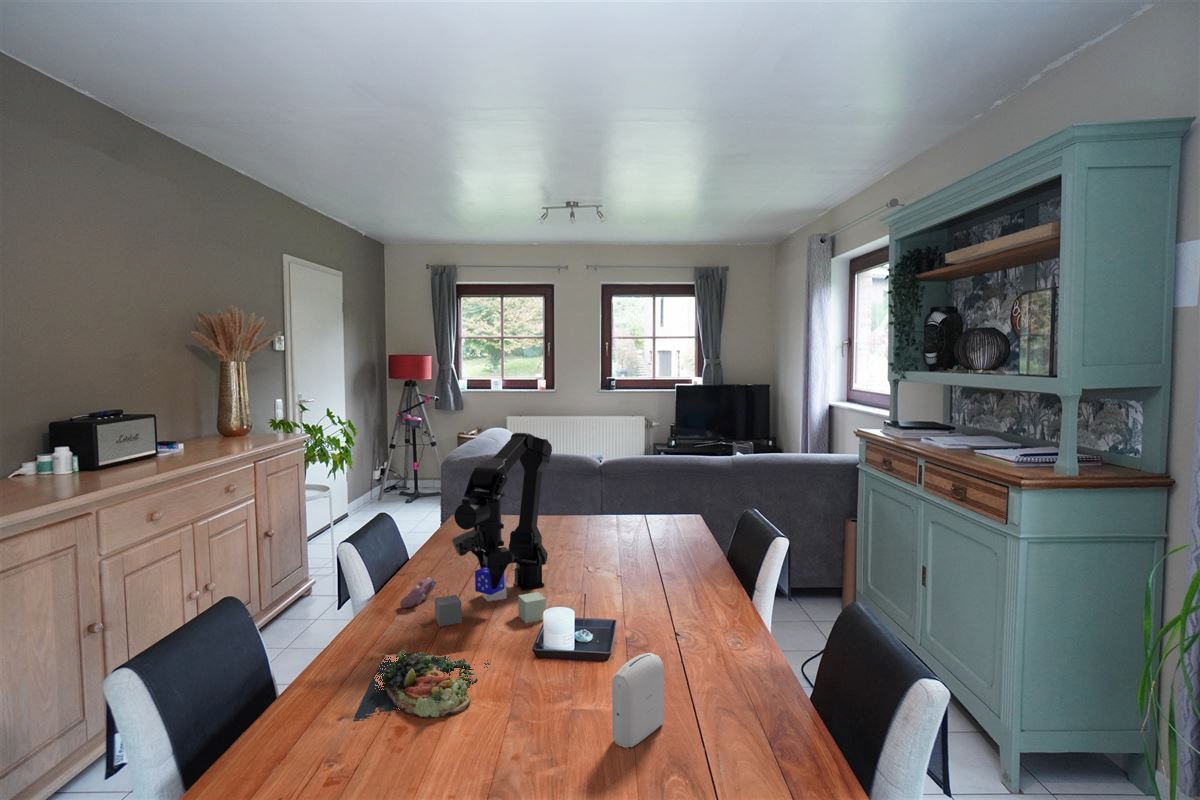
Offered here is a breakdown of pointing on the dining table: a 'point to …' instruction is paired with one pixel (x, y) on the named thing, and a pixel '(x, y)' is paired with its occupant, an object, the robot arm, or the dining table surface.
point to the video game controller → (418, 593)
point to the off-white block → (496, 594)
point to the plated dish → (418, 687)
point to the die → (486, 582)
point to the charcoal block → (448, 610)
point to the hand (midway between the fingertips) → (489, 583)
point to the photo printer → (637, 699)
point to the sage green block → (531, 607)
